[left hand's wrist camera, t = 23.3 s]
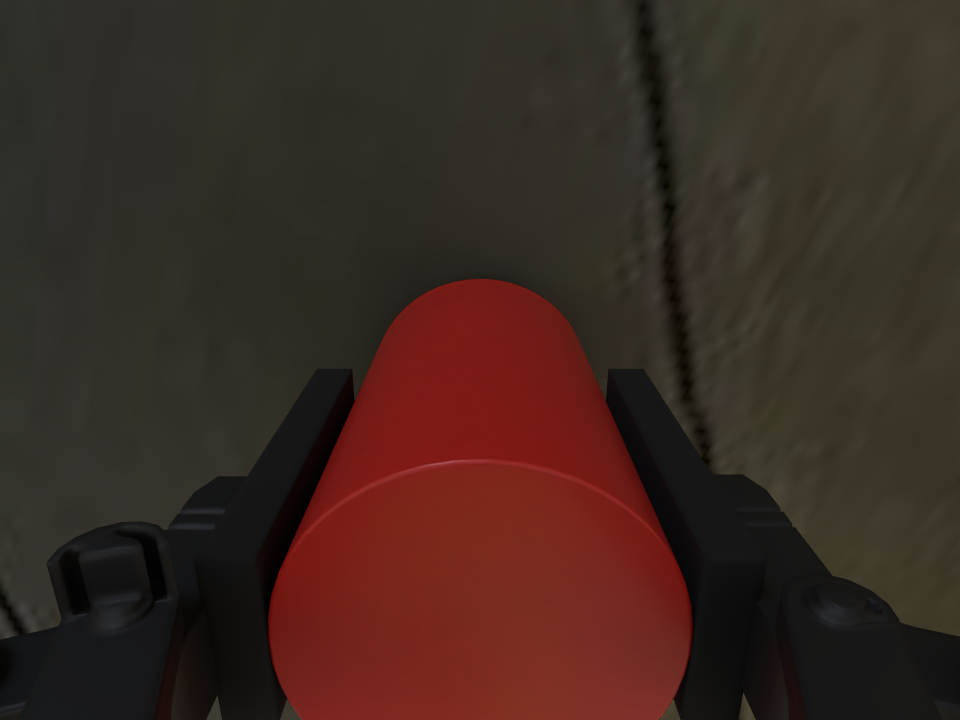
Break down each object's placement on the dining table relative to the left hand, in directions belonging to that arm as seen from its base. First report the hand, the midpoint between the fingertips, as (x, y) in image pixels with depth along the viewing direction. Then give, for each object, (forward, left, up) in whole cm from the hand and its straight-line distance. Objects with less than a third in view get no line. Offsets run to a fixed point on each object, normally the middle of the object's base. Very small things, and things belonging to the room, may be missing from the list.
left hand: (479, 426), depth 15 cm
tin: (0, 0, -3) cm, 3 cm away
